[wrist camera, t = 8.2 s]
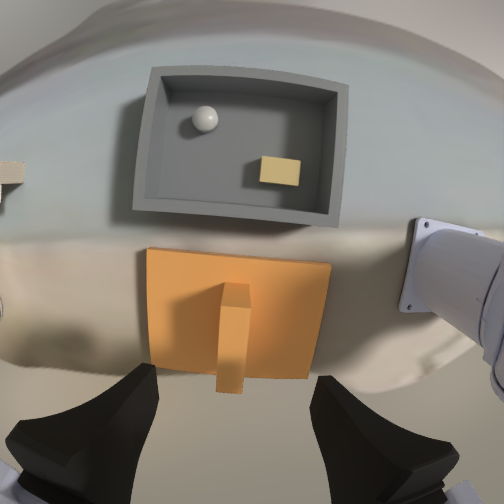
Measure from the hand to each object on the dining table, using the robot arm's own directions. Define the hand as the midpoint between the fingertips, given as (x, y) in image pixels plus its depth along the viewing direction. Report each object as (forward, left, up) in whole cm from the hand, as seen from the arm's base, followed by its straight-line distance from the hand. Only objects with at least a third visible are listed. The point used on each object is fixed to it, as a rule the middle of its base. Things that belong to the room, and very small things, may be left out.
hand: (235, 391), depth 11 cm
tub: (+1, -11, -9) cm, 15 cm away
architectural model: (+23, -9, -10) cm, 27 cm away
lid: (0, +1, -10) cm, 10 cm away
